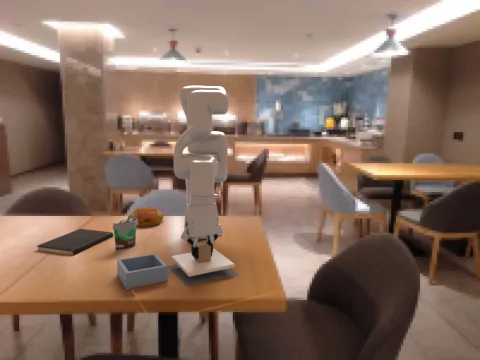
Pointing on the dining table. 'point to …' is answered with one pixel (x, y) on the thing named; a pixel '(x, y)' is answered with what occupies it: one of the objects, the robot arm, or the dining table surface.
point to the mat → (202, 276)
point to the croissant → (147, 216)
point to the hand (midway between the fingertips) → (202, 255)
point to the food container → (125, 233)
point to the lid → (202, 261)
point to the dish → (141, 270)
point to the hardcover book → (75, 241)
